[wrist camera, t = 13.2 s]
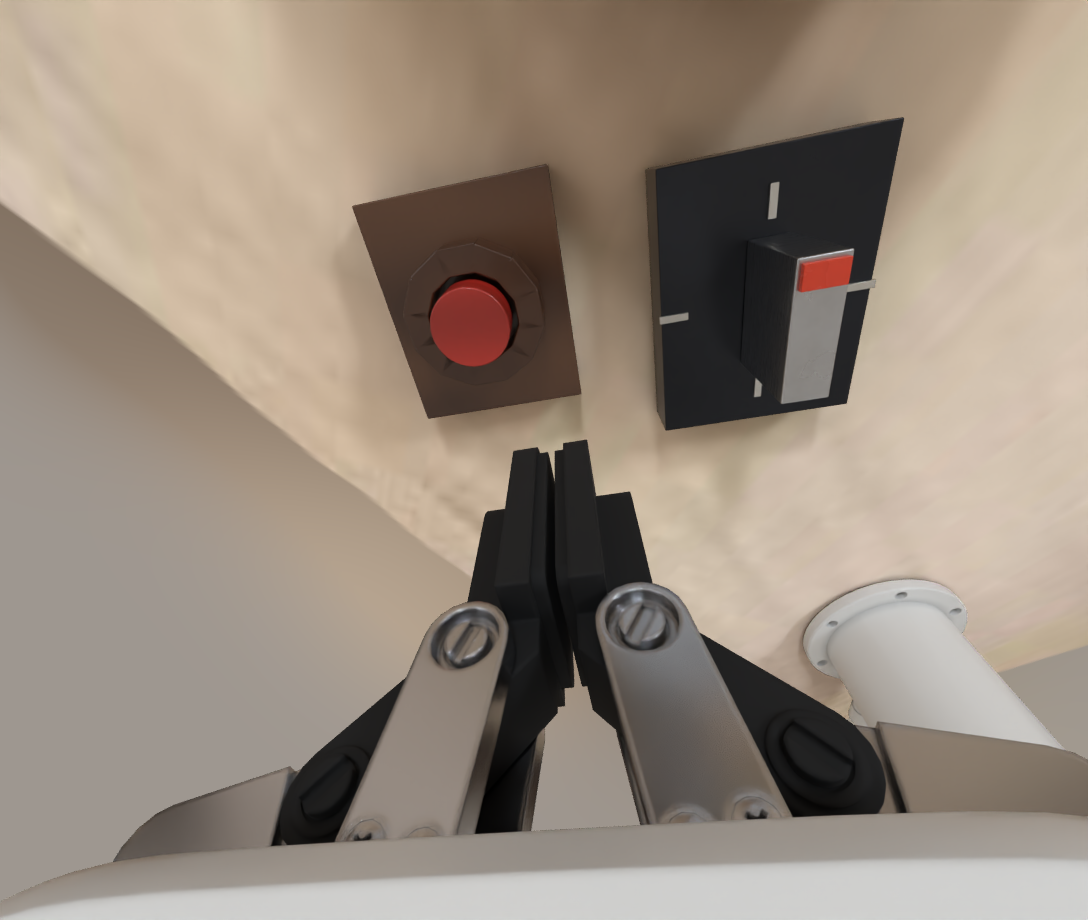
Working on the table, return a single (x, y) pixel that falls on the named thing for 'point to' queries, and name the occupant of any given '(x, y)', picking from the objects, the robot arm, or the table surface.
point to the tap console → (721, 256)
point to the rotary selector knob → (794, 313)
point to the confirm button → (471, 323)
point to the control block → (484, 254)
